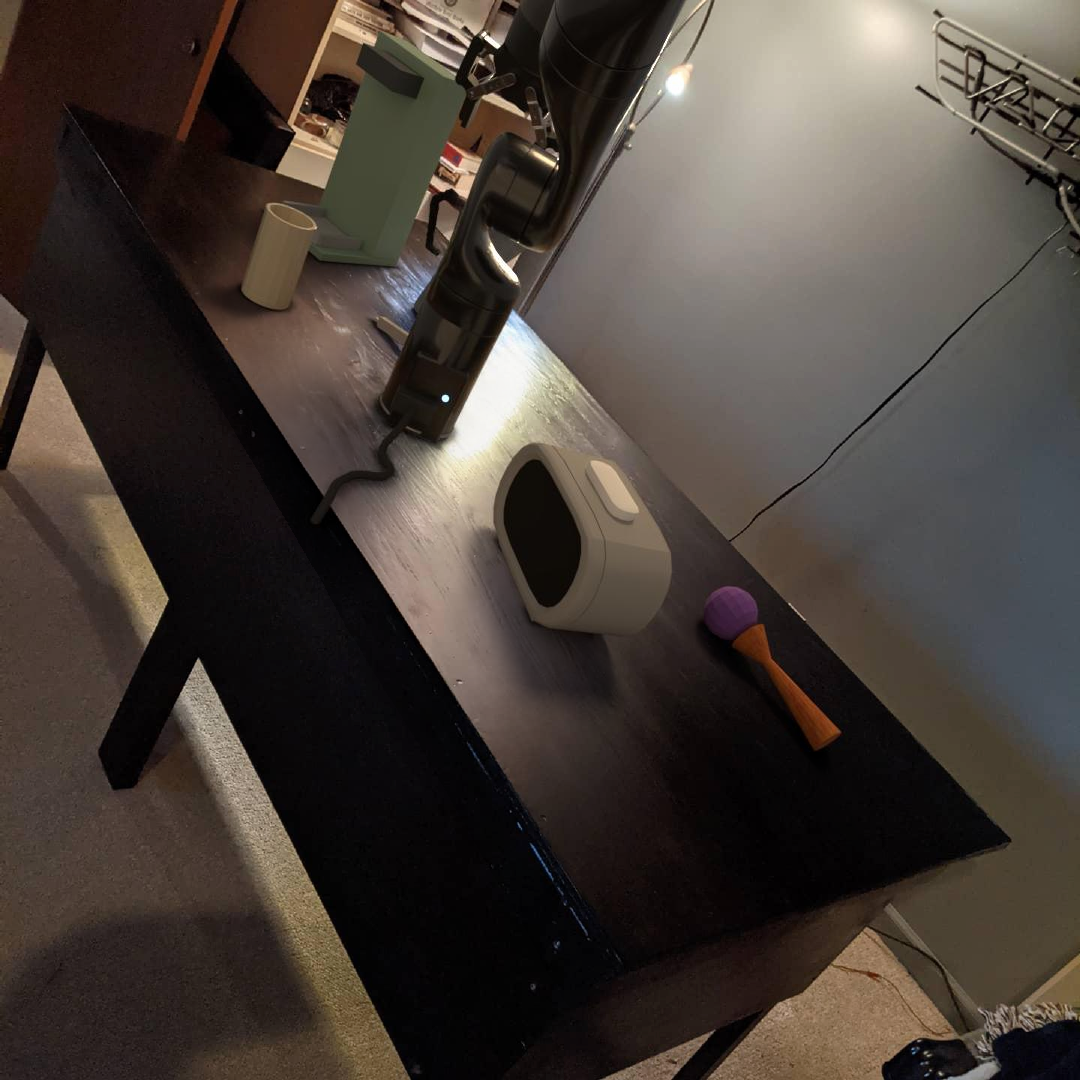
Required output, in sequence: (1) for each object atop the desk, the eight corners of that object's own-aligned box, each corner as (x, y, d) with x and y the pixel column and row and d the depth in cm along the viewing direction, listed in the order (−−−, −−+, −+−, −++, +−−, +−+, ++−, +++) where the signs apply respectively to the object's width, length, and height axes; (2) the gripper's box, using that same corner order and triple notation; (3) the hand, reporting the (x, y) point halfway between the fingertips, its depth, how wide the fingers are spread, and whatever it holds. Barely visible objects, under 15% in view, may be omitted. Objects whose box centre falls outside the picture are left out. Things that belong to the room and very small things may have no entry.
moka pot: (481, 355, 125) (542, 231, 115) (384, 308, 122) (439, 176, 112) (485, 332, 133) (543, 215, 123) (395, 287, 130) (447, 163, 119)
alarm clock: (478, 512, 92) (534, 412, 85) (551, 526, 97) (608, 433, 90) (537, 655, 78) (610, 549, 71) (618, 663, 83) (693, 564, 76)
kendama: (826, 735, 83) (709, 581, 92) (793, 764, 87) (684, 613, 96) (862, 718, 86) (745, 571, 96) (828, 747, 90) (720, 603, 100)
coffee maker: (319, 260, 124) (392, 57, 109) (263, 211, 128) (326, 9, 113) (395, 266, 137) (470, 85, 122) (342, 221, 141) (407, 41, 126)
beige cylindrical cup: (282, 315, 105) (310, 234, 100) (235, 294, 103) (261, 210, 98) (293, 299, 110) (320, 221, 104) (248, 278, 108) (273, 198, 103)
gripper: (482, -13, 84) (431, 124, 97) (600, 71, 86) (536, 195, 99) (509, -36, 89) (457, 98, 102) (621, 44, 91) (557, 166, 104)
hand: (496, 146), depth 100 cm, fingers open, 8 cm apart
